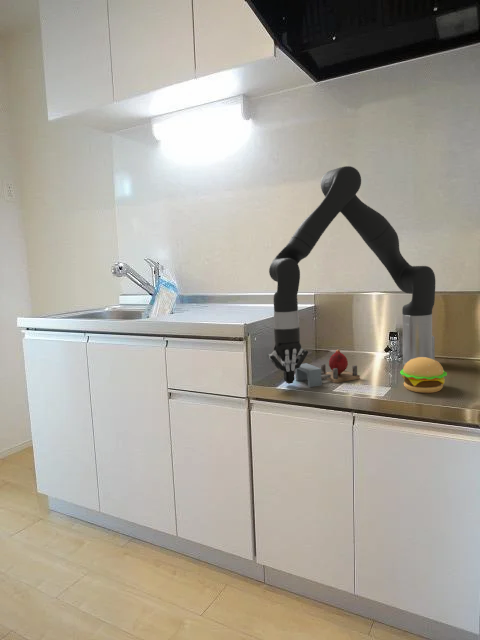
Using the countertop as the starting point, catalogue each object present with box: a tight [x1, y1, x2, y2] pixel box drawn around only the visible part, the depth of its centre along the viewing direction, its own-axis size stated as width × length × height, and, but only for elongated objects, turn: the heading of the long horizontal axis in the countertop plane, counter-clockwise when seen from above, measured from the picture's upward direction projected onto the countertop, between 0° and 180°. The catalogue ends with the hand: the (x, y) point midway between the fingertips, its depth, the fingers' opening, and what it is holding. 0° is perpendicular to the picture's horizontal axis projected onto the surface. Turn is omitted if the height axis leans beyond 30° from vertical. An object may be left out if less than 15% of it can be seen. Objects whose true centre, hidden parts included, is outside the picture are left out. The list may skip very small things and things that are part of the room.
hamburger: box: [399, 357, 448, 394], centre depth 123 cm, size 12×12×9 cm
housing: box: [294, 362, 323, 388], centre depth 136 cm, size 4×9×5 cm, turn 21°
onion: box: [328, 349, 349, 375], centre depth 139 cm, size 6×6×8 cm
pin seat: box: [320, 363, 361, 384], centre depth 139 cm, size 13×9×4 cm
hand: (289, 382), depth 134 cm, fingers closed
